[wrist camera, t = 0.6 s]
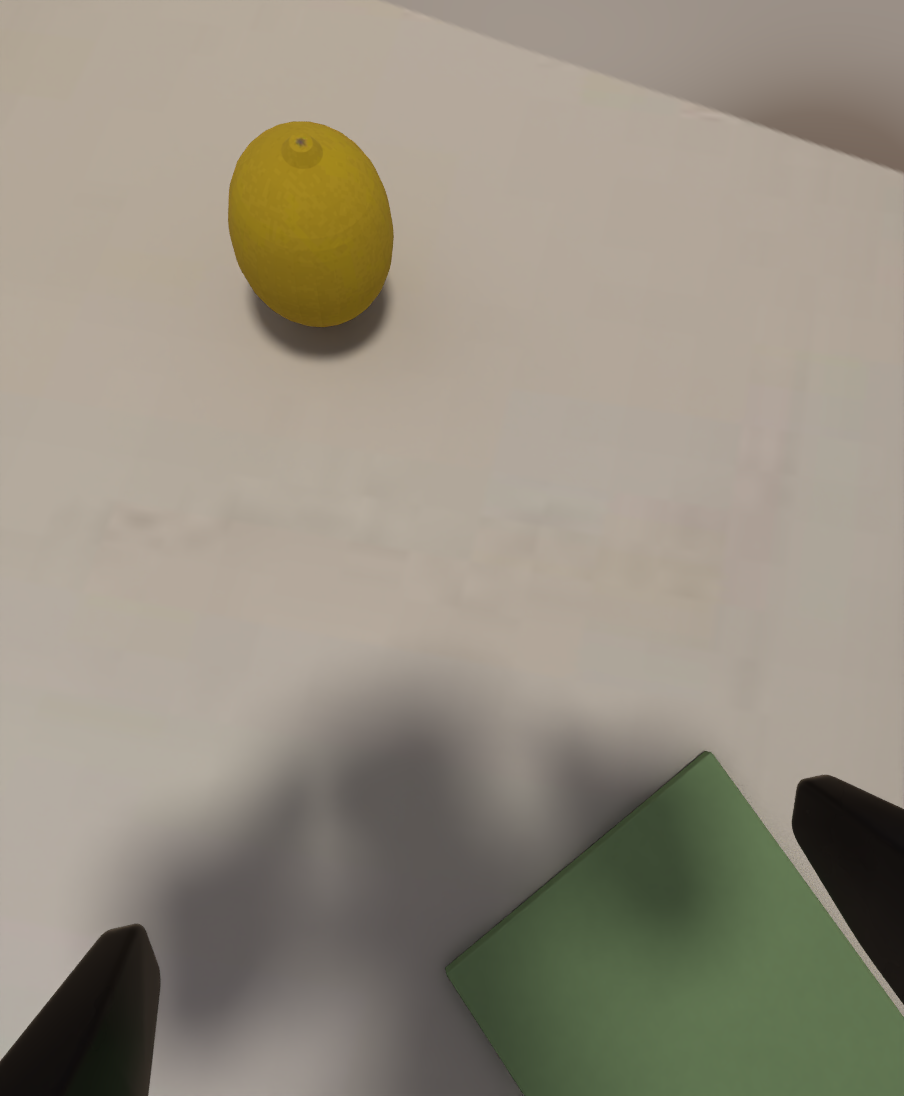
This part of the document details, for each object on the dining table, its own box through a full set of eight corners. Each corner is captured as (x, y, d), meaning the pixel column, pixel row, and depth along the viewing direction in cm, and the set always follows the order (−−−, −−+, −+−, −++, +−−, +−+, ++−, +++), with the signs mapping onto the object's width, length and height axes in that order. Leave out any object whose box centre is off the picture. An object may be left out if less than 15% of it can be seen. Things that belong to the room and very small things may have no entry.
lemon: (226, 324, 26) (162, 166, 18) (295, 220, 27) (263, 32, 19) (351, 387, 26) (341, 257, 18) (414, 280, 27) (429, 116, 19)
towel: (949, 1088, 23) (962, 1096, 22) (699, 1365, 20) (707, 1381, 20) (705, 750, 24) (711, 751, 24) (444, 967, 22) (445, 974, 21)
